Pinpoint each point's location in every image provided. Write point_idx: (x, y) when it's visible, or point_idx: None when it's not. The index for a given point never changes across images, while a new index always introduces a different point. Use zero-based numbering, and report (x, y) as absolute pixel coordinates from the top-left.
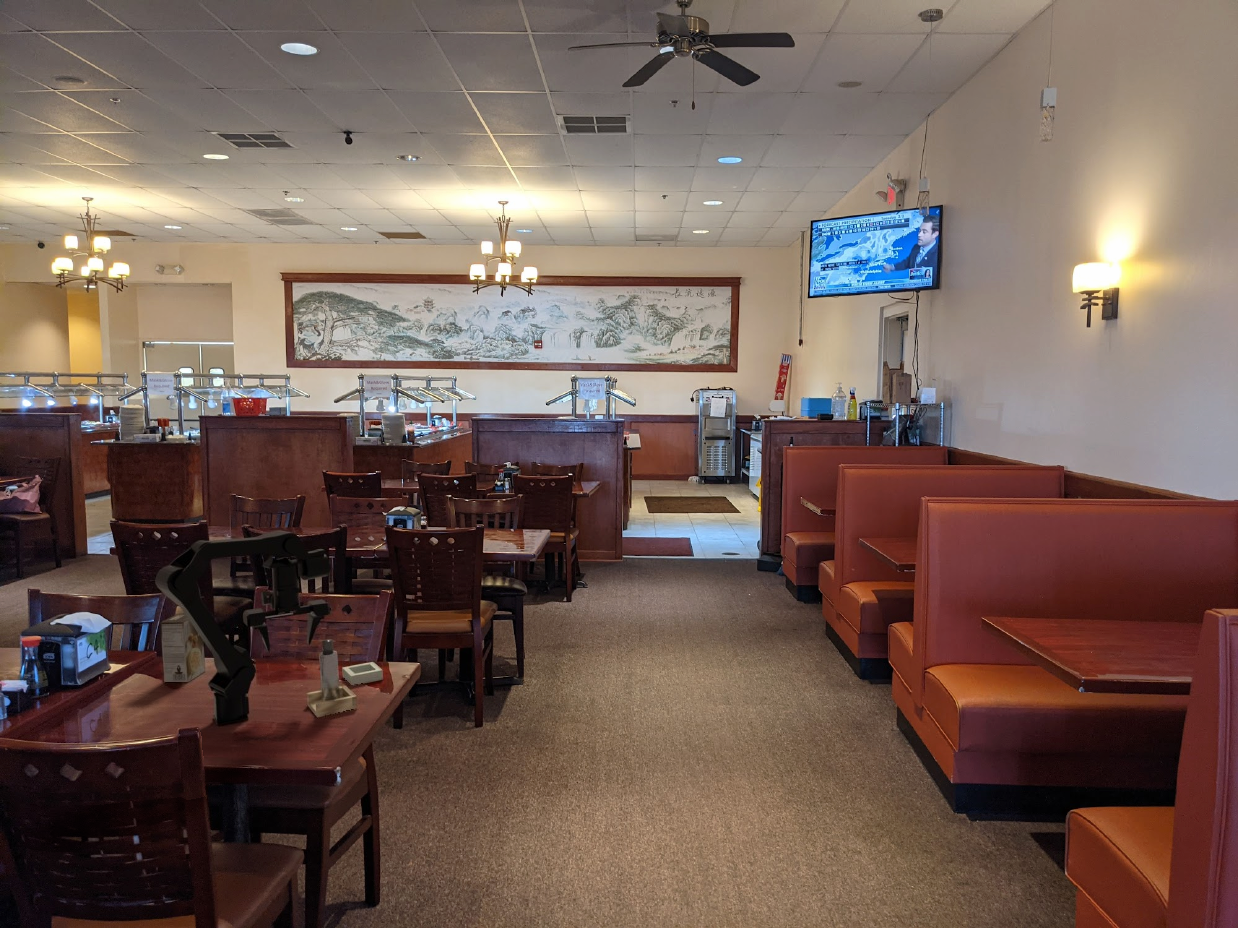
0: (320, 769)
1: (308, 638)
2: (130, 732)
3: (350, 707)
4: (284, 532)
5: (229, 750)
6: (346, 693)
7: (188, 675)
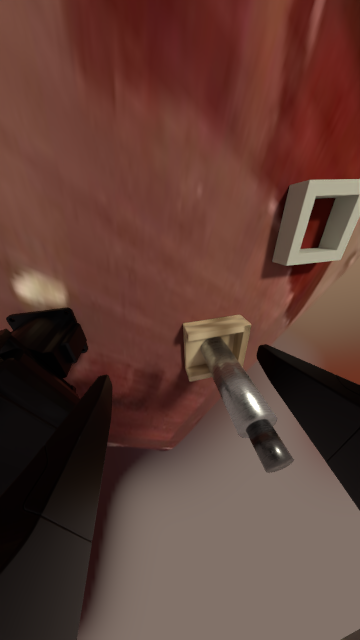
0: (164, 450)
1: (273, 379)
2: None
3: None
4: None
5: None
6: (238, 347)
7: None
